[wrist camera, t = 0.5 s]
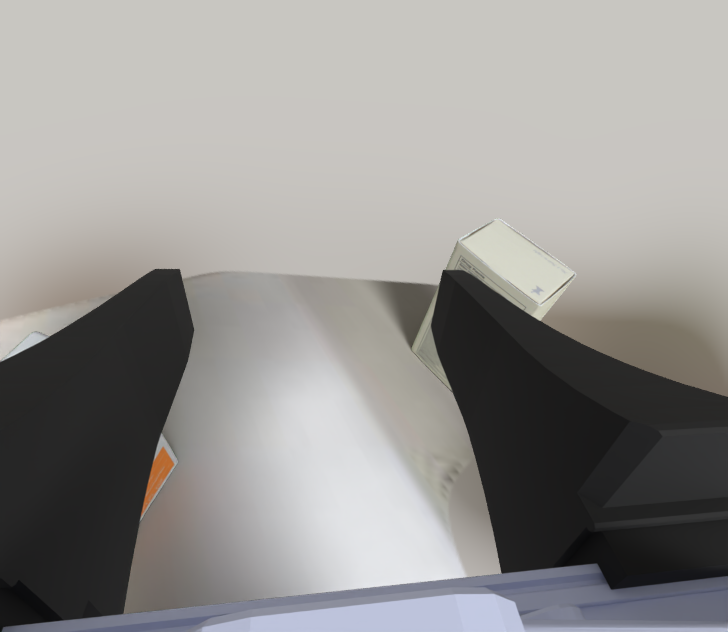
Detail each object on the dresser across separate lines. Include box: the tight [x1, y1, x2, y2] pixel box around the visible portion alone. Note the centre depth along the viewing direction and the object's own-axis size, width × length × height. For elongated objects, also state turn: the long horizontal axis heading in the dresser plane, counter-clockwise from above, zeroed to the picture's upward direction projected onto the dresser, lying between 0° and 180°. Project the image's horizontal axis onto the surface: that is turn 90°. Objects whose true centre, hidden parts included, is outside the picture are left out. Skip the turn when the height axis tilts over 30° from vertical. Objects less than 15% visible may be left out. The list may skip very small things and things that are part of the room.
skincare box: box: [411, 218, 576, 391], centre depth 28 cm, size 6×4×12 cm
